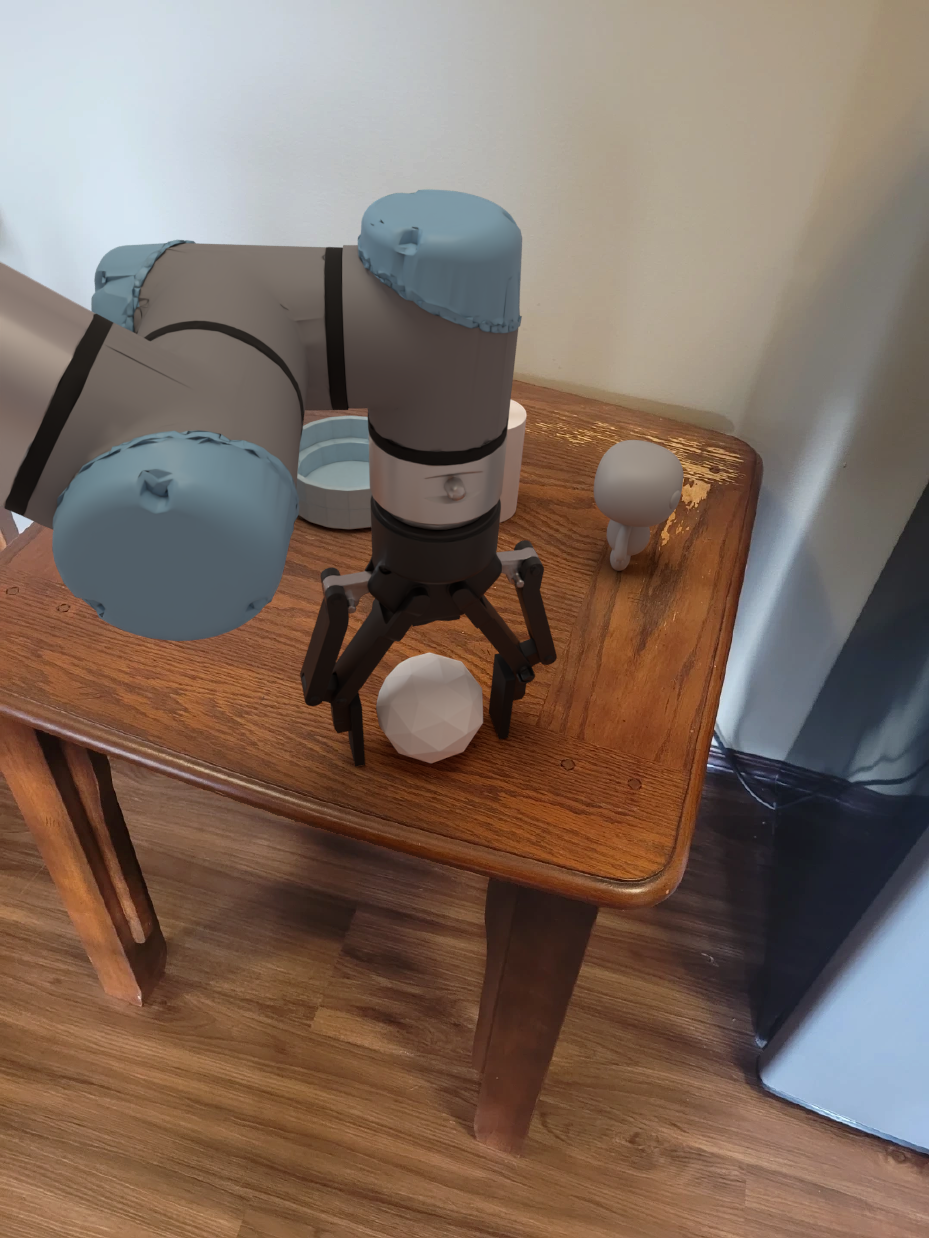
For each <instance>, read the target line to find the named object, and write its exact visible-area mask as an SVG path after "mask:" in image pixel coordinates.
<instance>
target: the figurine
mask: <svg viewBox="0 0 929 1238" xmlns="http://www.w3.org/2000/svg"><path fill="white" fill-rule="evenodd" d="M684 475H685V474H684V469H683V464H682V462H681V461H680V458H678V456H677V455H676V454H675V453H674V452H672V451H671V450H669V449H667V448H666V447H664V446H662V445H659V444H657V443H654V442H652V441H651V442H650V441H646V440H641V439H627V440H623V441H619V442H617V443H615V444H613V445H612V446H611V447H610V448H609V449H607V450H606V451H605V453H604V454H603V456H602V458H601V459H600V461H599V464H598V465H597V468H596V471H595V476H594V480H593V499H594V502H595V505H596V507H597V508H598V510H599V511H600V512H601V513H602V515H604V516H605V517H606V518H608V519H609V522H608V524H607V528H606V540H607V543H608V545H609V547H610V548H611V551H610V554H609V555H610V556H609V561H610V565H611V568H612V569H613V570H614V571H618V572H621V571H624V570H625V569H626V568H628V566H629V563H630V561H631V556H634V555H638V554H640V553H641V552H643V551H644V550H645V549H646V548H647V546H648V545H649V542H650V539H651V529H650V527H655V526H657V525H660V524H662V523H663V522H665V521H666V520H668V519H669V518H670V517H671V516H672V514H673V513H674V512H675V511H676V509H677V508H678V505H679V503H680V499H681V497H682V492H683V484H684Z"/></svg>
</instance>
